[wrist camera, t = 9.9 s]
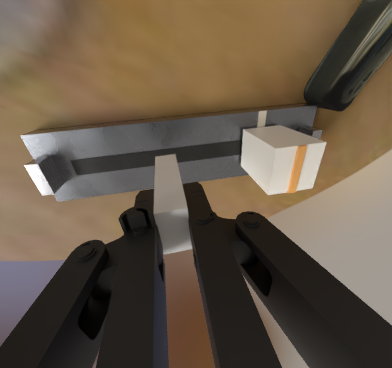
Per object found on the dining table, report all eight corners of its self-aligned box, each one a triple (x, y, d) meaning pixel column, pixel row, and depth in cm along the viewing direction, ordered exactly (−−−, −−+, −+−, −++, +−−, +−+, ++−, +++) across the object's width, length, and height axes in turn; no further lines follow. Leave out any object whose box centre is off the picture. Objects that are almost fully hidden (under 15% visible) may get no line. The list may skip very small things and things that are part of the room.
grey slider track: (34, 130, 17) (2, 142, 14) (304, 103, 20) (333, 107, 17) (66, 191, 21) (47, 213, 17) (291, 160, 24) (313, 174, 20)
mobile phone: (349, 116, 17) (547, -130, 10) (329, 102, 16) (534, -180, 9) (312, 108, 21) (437, -71, 15) (294, 96, 20) (420, -101, 14)
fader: (243, 129, 18) (277, 149, 13) (280, 125, 18) (328, 142, 13) (240, 165, 20) (269, 196, 15) (274, 161, 20) (314, 189, 15)
